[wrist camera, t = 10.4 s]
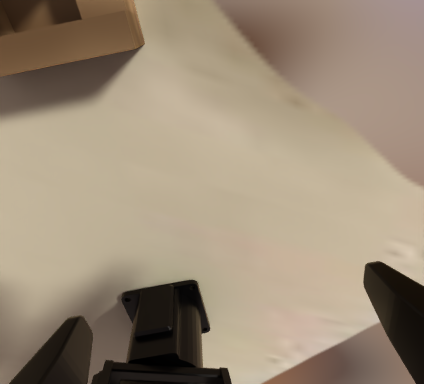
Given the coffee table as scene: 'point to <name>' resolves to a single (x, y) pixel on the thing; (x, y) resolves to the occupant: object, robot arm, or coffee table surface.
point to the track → (64, 31)
